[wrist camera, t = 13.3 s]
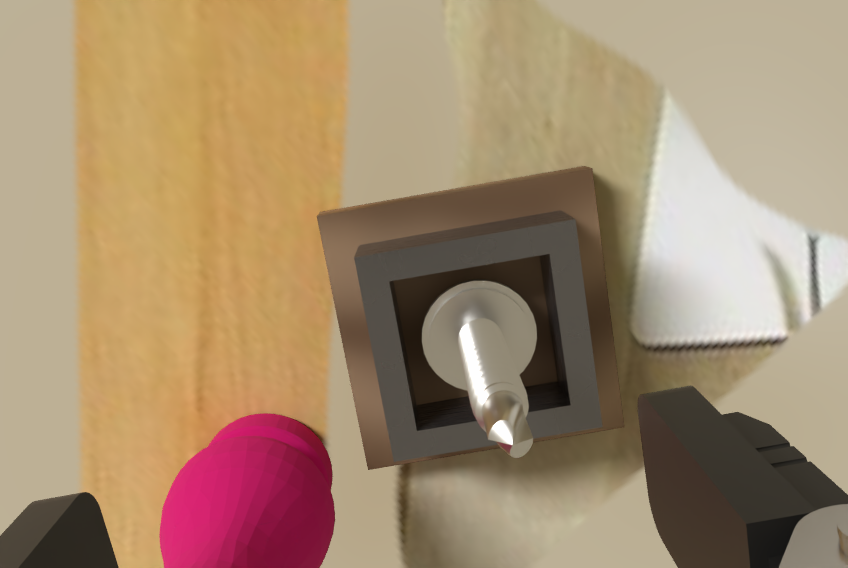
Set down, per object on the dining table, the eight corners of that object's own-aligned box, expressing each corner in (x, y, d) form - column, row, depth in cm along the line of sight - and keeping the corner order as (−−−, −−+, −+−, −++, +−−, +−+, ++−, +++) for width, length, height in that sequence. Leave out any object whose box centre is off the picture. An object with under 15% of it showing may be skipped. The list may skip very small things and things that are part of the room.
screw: (419, 272, 34) (529, 269, 34) (422, 377, 35) (529, 373, 35) (424, 366, 21) (599, 361, 22) (429, 525, 23) (596, 520, 23)
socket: (358, 245, 34) (353, 257, 31) (561, 210, 34) (575, 219, 31) (395, 433, 36) (393, 462, 33) (586, 401, 36) (602, 427, 33)
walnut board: (320, 211, 35) (316, 216, 34) (584, 166, 35) (592, 168, 33) (369, 456, 38) (368, 469, 36) (615, 414, 37) (624, 427, 36)
